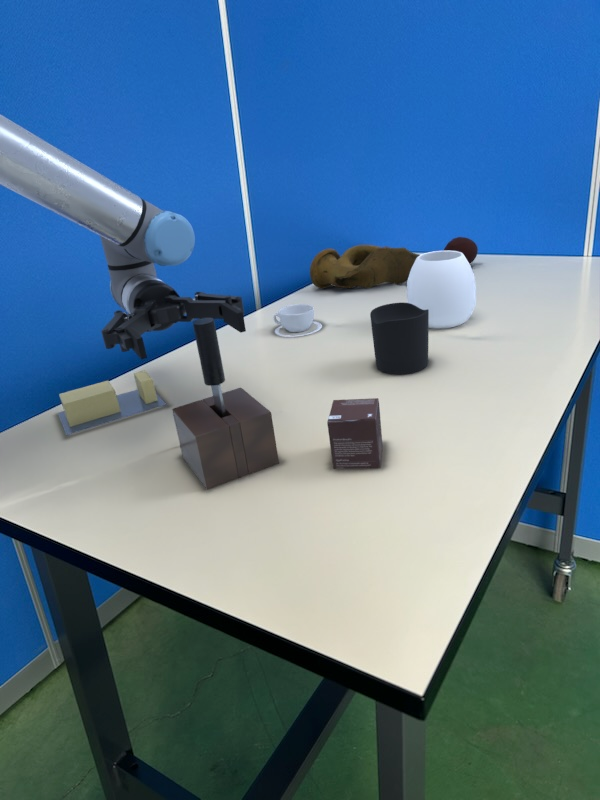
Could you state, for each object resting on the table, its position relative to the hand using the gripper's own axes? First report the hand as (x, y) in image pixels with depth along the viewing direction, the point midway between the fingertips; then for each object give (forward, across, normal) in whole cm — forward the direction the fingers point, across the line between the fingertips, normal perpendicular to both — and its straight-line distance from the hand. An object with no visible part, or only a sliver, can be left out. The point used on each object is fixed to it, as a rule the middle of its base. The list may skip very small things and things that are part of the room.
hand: (193, 335), depth 80 cm
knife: (+5, 0, -17) cm, 18 cm away
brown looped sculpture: (-54, -60, -17) cm, 82 cm away
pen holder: (-6, -36, -17) cm, 40 cm away
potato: (-50, -86, -17) cm, 101 cm away
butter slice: (-23, +4, -16) cm, 28 cm away
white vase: (-19, -55, -17) cm, 61 cm away
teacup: (-37, -32, -17) cm, 52 cm away
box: (+15, -14, -17) cm, 27 cm away
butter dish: (-23, +10, -17) cm, 30 cm away
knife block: (+5, 0, -17) cm, 18 cm away
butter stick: (-23, +13, -16) cm, 31 cm away
